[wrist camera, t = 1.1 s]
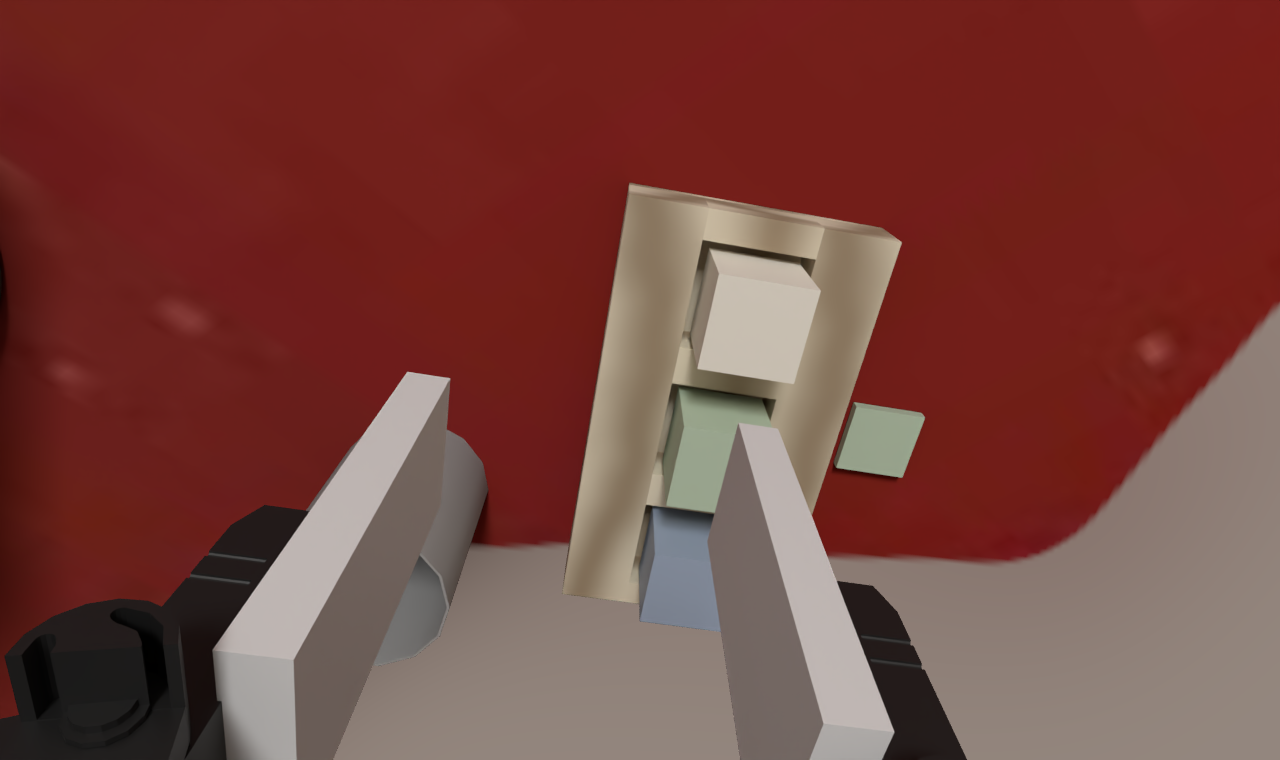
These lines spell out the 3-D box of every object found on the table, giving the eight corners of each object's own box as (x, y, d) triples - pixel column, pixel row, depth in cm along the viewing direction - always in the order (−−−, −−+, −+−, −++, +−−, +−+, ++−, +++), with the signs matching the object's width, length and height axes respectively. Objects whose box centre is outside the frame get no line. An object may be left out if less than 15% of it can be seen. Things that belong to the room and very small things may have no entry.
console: (566, 561, 45) (562, 593, 42) (629, 182, 36) (629, 193, 33) (767, 588, 46) (776, 622, 43) (881, 227, 37) (901, 242, 34)
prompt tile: (833, 462, 42) (836, 467, 42) (853, 402, 41) (856, 407, 40) (898, 472, 43) (902, 477, 42) (921, 412, 41) (925, 417, 41)
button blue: (638, 566, 43) (639, 621, 39) (652, 504, 41) (654, 554, 37) (713, 576, 43) (721, 631, 39) (730, 515, 41) (740, 566, 37)
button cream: (690, 333, 37) (697, 368, 33) (708, 247, 35) (719, 273, 31) (775, 347, 37) (793, 384, 33) (799, 262, 35) (820, 290, 31)
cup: (491, 429, 41) (452, 536, 32) (485, 545, 45) (447, 672, 36) (341, 412, 41) (258, 516, 32) (346, 531, 44) (271, 655, 35)
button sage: (662, 459, 40) (666, 505, 36) (678, 386, 38) (683, 426, 34) (742, 470, 40) (754, 518, 36) (761, 399, 38) (777, 440, 34)
